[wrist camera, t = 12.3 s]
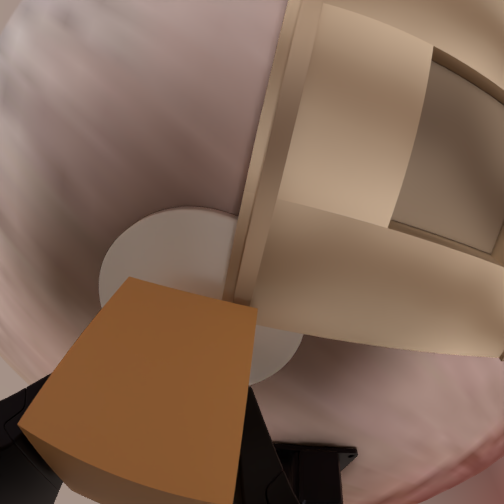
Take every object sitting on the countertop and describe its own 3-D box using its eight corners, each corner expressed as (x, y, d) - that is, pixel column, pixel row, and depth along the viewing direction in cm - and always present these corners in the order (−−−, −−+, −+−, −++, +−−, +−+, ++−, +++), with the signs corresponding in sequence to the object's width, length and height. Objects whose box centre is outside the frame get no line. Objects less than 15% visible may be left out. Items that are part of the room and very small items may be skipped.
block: (234, 391, 12) (209, 535, 6) (132, 364, 12) (71, 490, 6) (257, 308, 10) (232, 506, 4) (128, 276, 10) (17, 424, 4)
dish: (273, 392, 15) (273, 404, 14) (112, 350, 15) (106, 360, 14) (333, 236, 11) (337, 245, 10) (107, 187, 11) (97, 192, 10)
